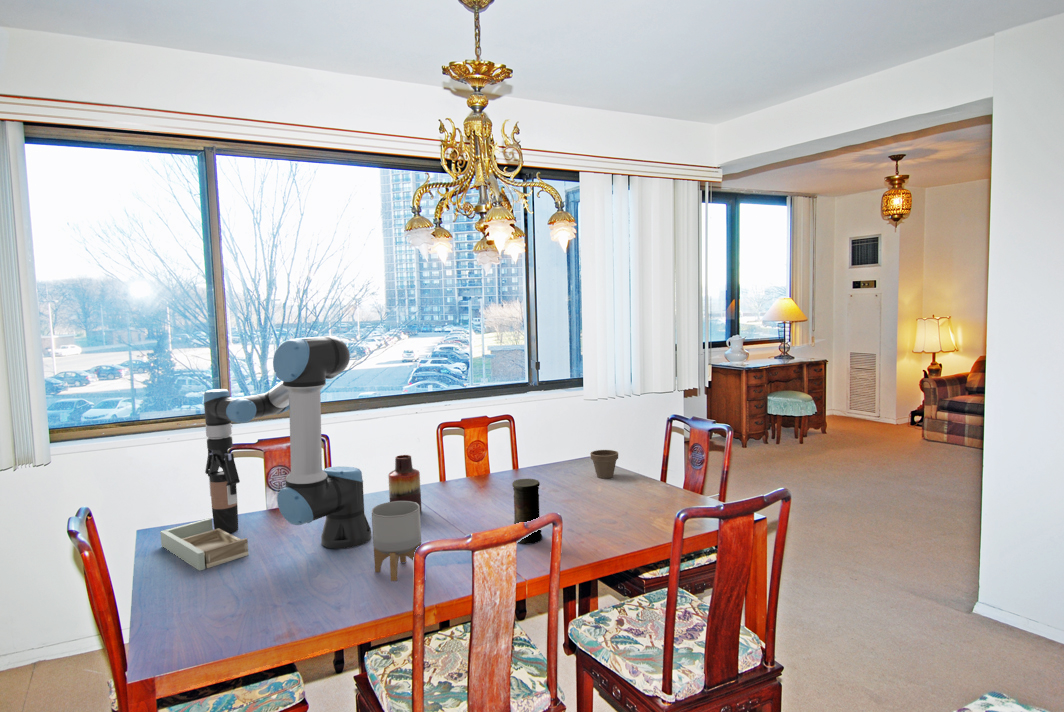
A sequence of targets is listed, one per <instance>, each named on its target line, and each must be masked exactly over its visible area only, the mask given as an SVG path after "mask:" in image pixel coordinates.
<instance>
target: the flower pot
mask: <svg viewBox="0 0 1064 712" xmlns="http://www.w3.org/2000/svg"><path fill="white" fill-rule="evenodd" d="M590 459H591V461H593V465H594V470H595V473H596V476H597V478H599V479H611V478H613V477H614V474H615V469H616V463H617V460H618V459H619V452H618V451H616V450H613V449H598V450H597V449H596V450H593V451H591V452H590Z"/></svg>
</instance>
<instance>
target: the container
mask: <svg viewBox="0 0 1064 712" xmlns="http://www.w3.org/2000/svg"><path fill="white" fill-rule="evenodd" d="M540 485H541V484H540V481H539V480H537V479H535V478H519V479H516V480H514V481H512V485H511V486H512V488H513V507H514V508H513V509H514V513H513V514H514V515H513V517H514V520H513V525H514V524H516V523H519V522H527V521H531V520H533V519H536V518H538V517H539V518H540V493H539V489H540ZM542 532H543V531H542V529H541V530H538V531H537V532H534V533H532V534H531V535H529V536H528V537H526V538H524V539H522V540H521V541H520V542H519V543H518V544H521V543H522V545H527V544H526V543H533V544H536V543H535V542H537V543H539V542H541V541H542V539H543V534H542ZM538 541H539V542H538ZM523 543H524V544H523Z"/></svg>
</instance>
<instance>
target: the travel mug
mask: <svg viewBox="0 0 1064 712" xmlns="http://www.w3.org/2000/svg"><path fill="white" fill-rule="evenodd" d="M227 483H228V482H227V480H226V477H225V475H224V472H223V470H221V471H219V470H218V471H213V472H211V473H210V485H209V488H210V487H211V496H210V499H211V513H212V523H213V530H215V529H218V528H219V529H221V530H223V531H225V532H227V533H229V534H234V533H235V532H236V533H237V532H238V530H239V514H238V513H239V512H238V511H239V510H238V509H239V507H238V502H237V503H235V504H231V505H228V496H227V486H226V484H227Z"/></svg>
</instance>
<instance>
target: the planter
mask: <svg viewBox="0 0 1064 712" xmlns="http://www.w3.org/2000/svg"><path fill="white" fill-rule="evenodd" d="M371 524H372V526H371V527H372V529H371V530H372V543H373V545H372V546H373V560H374V573H380V572H381V571H382V564H383V562H384V561H385V560H386V559H387V558H389V567H390V568H389V571H390V582H397V580H398V568H399V567H398V566H399V563H400V562H407V558H408V559H410V560H411V561H413V557H414V552H415V550H416V548H417V547H418V546H420V545H421V544H422V529H421V528H422V527H421V514H420V506H419V504H417V503H415V502H411V501H393V502H390V501H387V502H384V503H380V504H378V505H376V506H374V507H373V508H372V509H371Z"/></svg>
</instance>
